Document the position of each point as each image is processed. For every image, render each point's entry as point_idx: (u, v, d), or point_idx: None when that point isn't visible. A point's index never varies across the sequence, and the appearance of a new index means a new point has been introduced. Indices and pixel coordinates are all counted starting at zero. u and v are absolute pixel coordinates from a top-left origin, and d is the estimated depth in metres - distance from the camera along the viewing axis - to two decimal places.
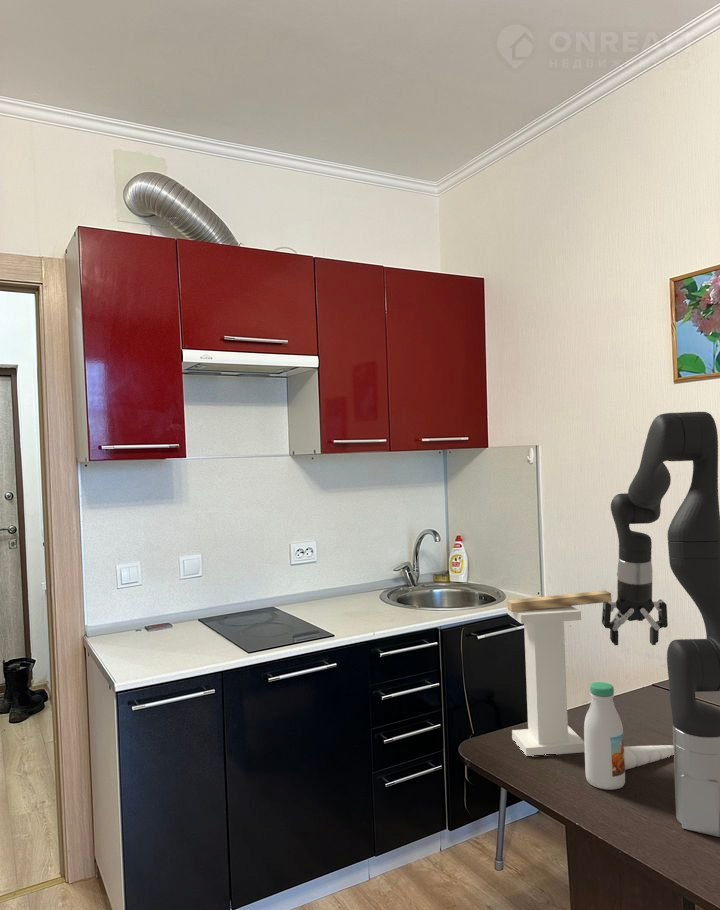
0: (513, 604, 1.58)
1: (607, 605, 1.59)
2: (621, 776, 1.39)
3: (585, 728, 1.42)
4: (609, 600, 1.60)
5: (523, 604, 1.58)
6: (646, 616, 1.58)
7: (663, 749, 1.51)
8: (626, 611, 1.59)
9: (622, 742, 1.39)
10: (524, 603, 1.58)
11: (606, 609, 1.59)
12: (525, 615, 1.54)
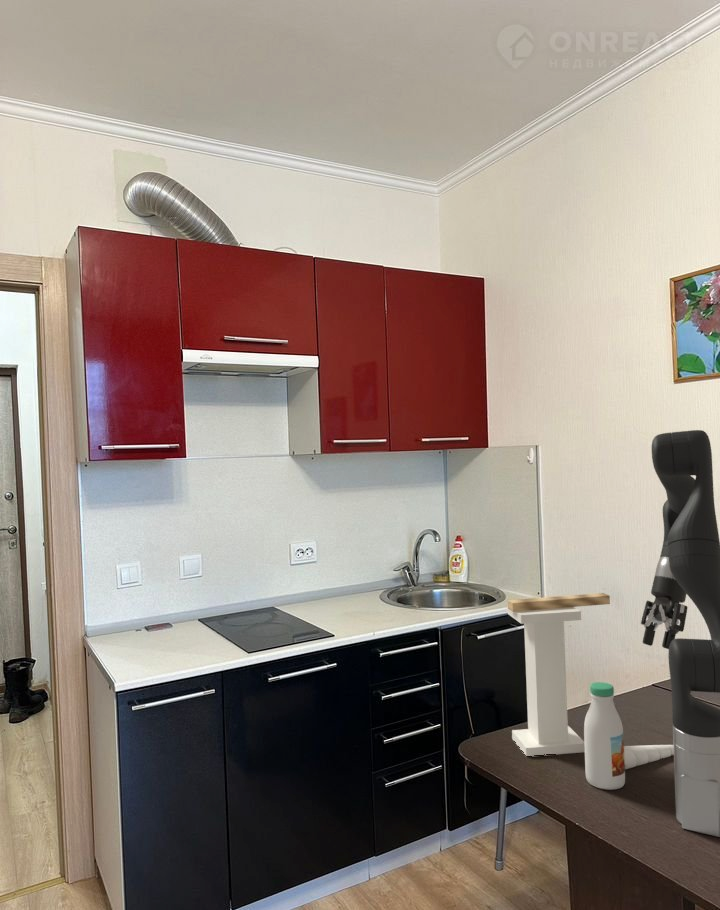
0: (514, 604, 1.58)
1: None
2: (621, 776, 1.39)
3: (585, 728, 1.42)
4: (607, 602, 1.61)
5: (524, 604, 1.58)
6: (662, 613, 1.59)
7: (663, 748, 1.51)
8: None
9: (622, 742, 1.39)
10: (525, 603, 1.58)
11: (645, 605, 1.68)
12: (525, 615, 1.54)
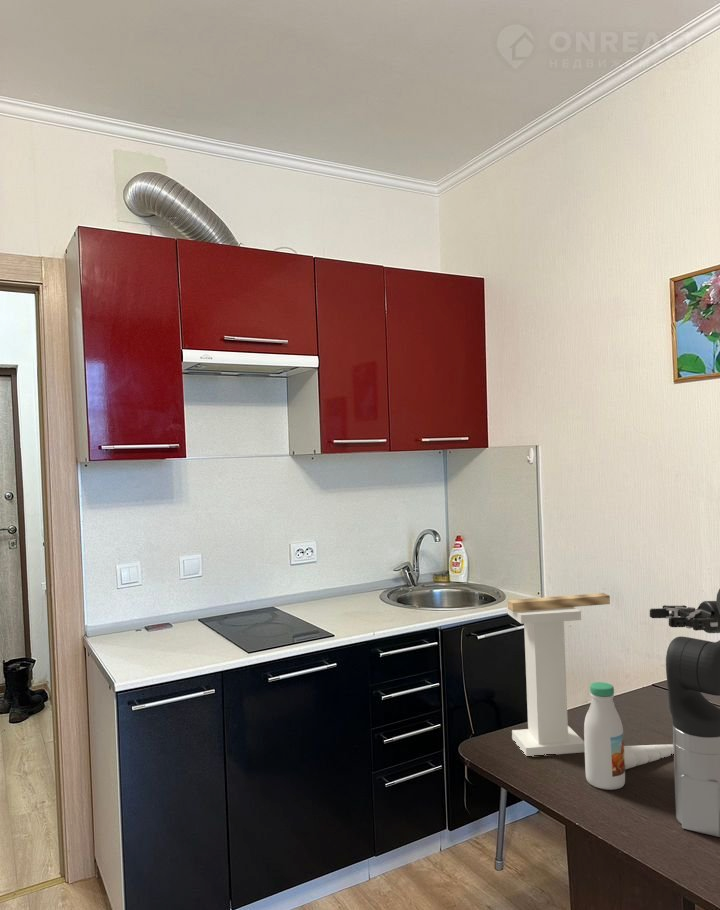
0: (514, 604, 1.58)
1: None
2: (621, 776, 1.39)
3: (585, 728, 1.42)
4: (607, 602, 1.61)
5: (524, 604, 1.58)
6: (694, 612, 1.61)
7: (663, 748, 1.51)
8: None
9: (622, 742, 1.39)
10: (525, 603, 1.58)
11: (680, 606, 1.70)
12: (525, 615, 1.54)
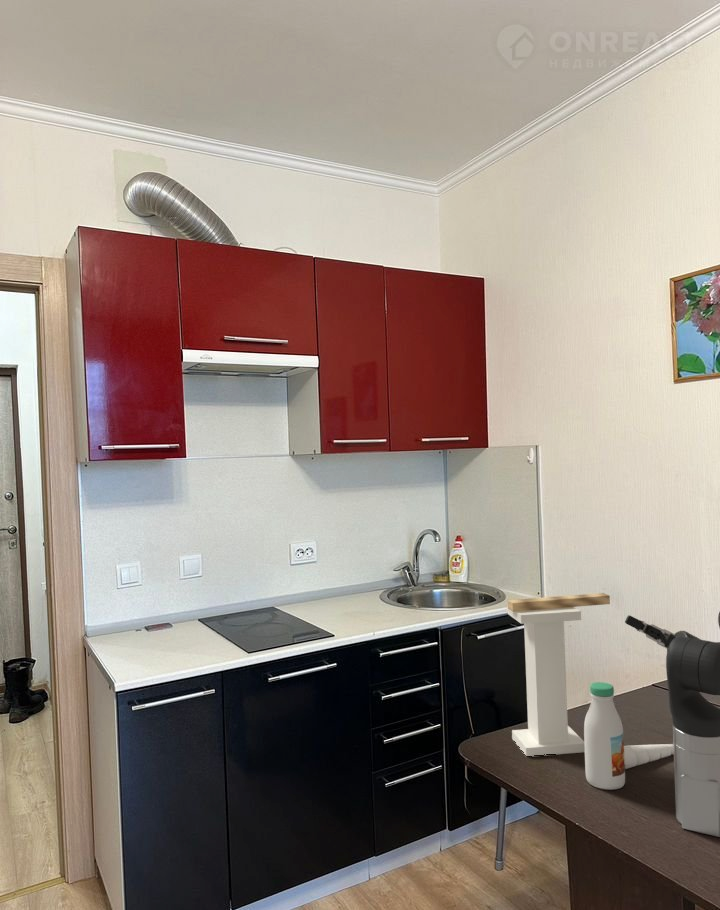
0: (514, 604, 1.58)
1: None
2: (621, 776, 1.39)
3: (585, 728, 1.42)
4: (607, 602, 1.61)
5: (524, 604, 1.58)
6: (670, 633, 1.61)
7: (663, 748, 1.51)
8: None
9: (622, 742, 1.39)
10: (525, 603, 1.58)
11: None
12: (525, 615, 1.54)
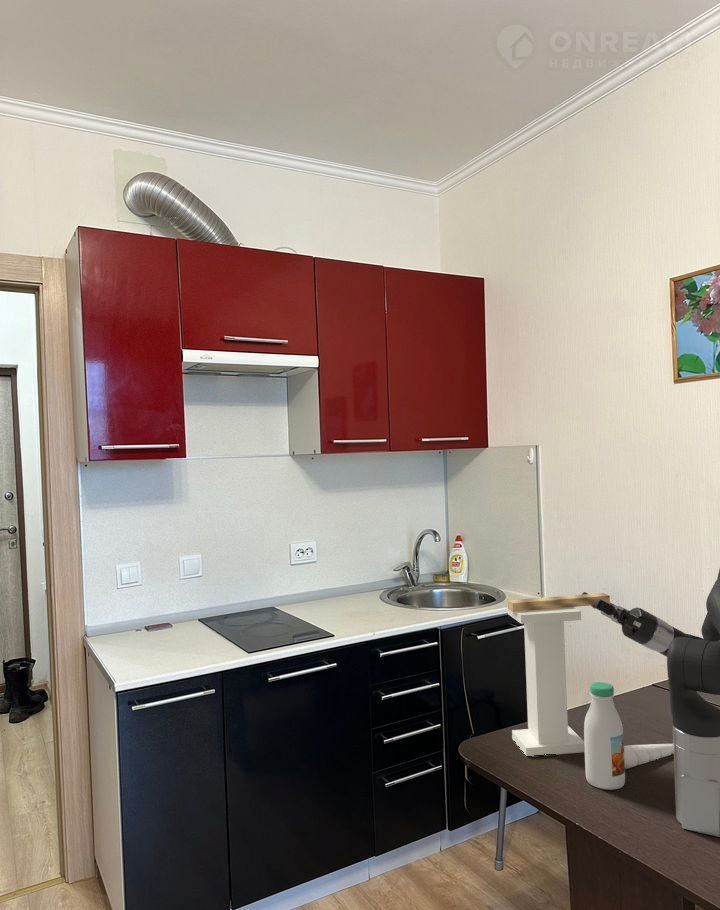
0: (514, 604, 1.58)
1: None
2: (621, 776, 1.39)
3: (585, 728, 1.42)
4: (607, 602, 1.61)
5: (524, 604, 1.58)
6: (624, 609, 1.59)
7: (663, 747, 1.52)
8: None
9: (622, 742, 1.39)
10: (525, 603, 1.58)
11: None
12: (525, 615, 1.54)
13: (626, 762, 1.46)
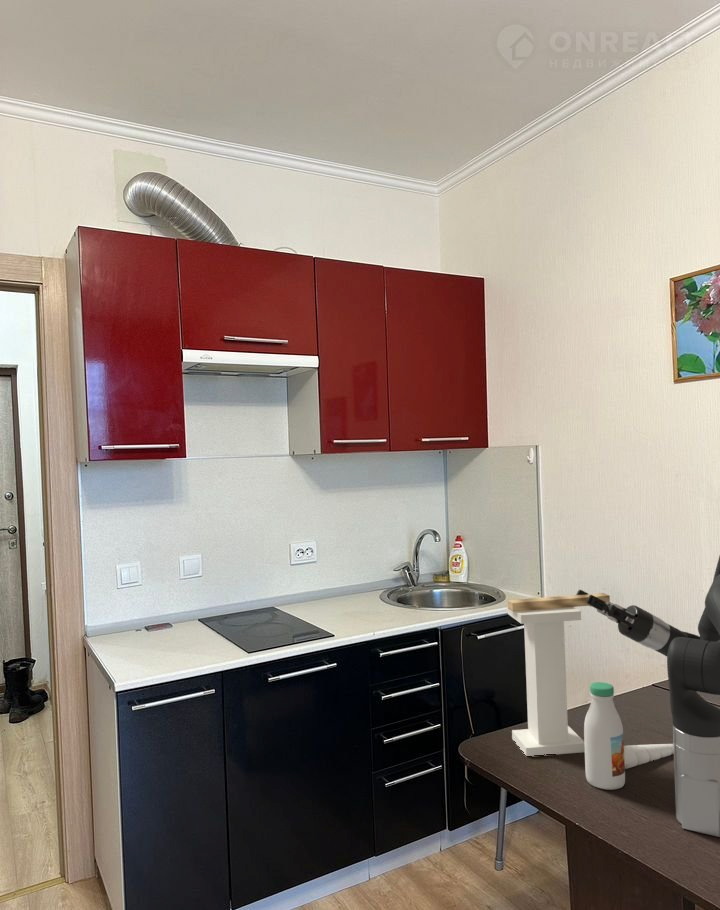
0: (514, 604, 1.58)
1: None
2: (621, 776, 1.39)
3: (585, 728, 1.42)
4: None
5: (524, 604, 1.58)
6: (618, 606, 1.60)
7: (663, 747, 1.52)
8: None
9: (622, 742, 1.39)
10: (525, 603, 1.58)
11: None
12: (525, 615, 1.54)
13: (626, 762, 1.46)
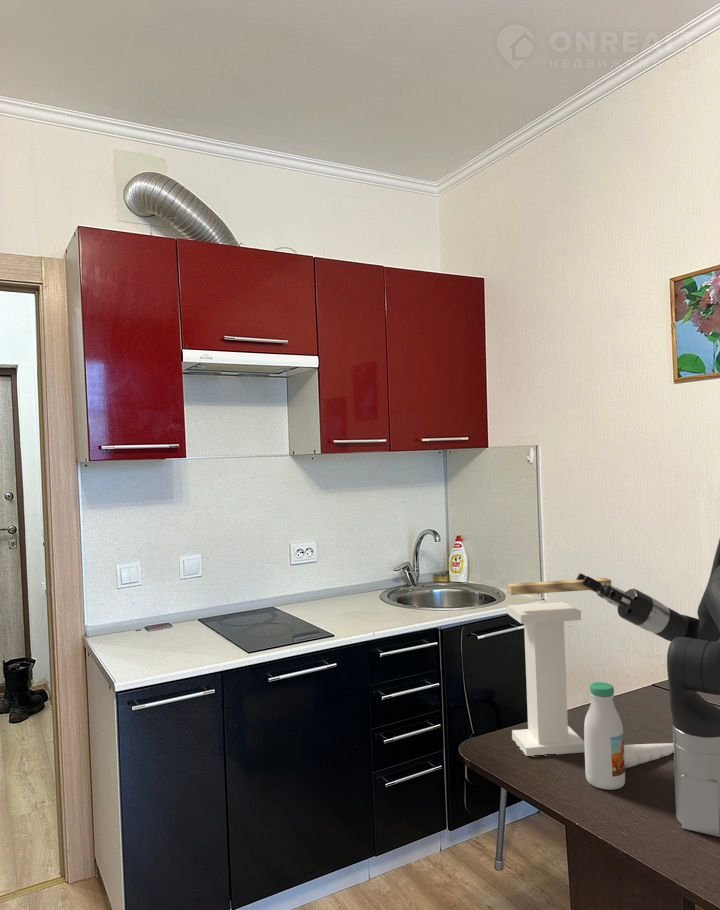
0: (513, 587, 1.58)
1: None
2: (621, 776, 1.39)
3: (585, 728, 1.42)
4: None
5: (523, 588, 1.58)
6: (617, 588, 1.60)
7: (663, 747, 1.52)
8: None
9: (622, 742, 1.39)
10: (524, 587, 1.58)
11: None
12: (525, 615, 1.54)
13: (626, 761, 1.46)
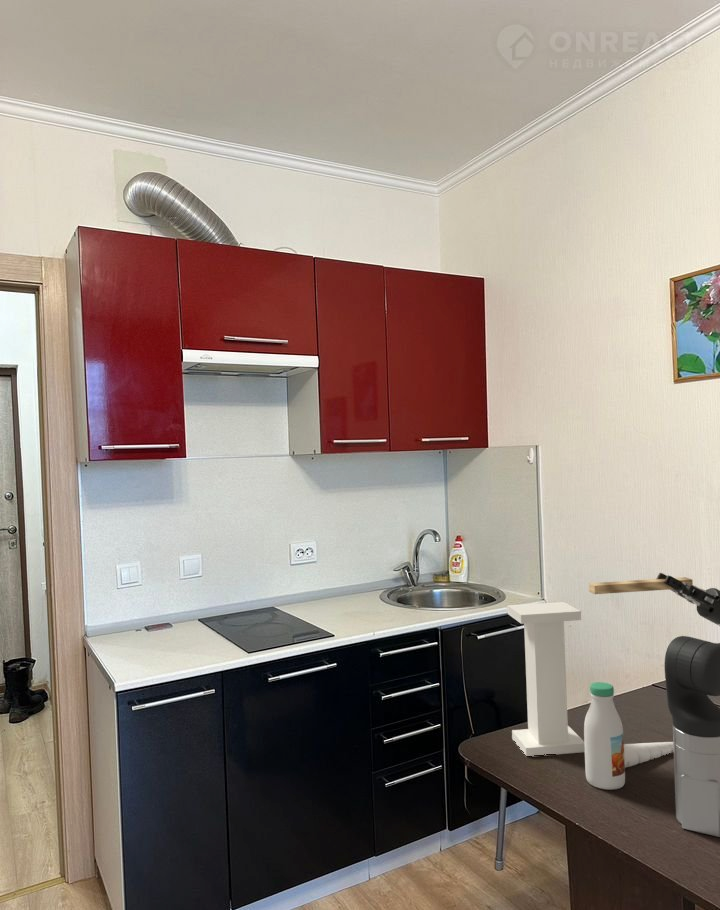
0: (596, 587, 1.60)
1: None
2: (621, 776, 1.39)
3: (585, 728, 1.42)
4: None
5: (606, 587, 1.60)
6: (698, 588, 1.62)
7: (664, 746, 1.53)
8: None
9: (622, 742, 1.39)
10: (607, 586, 1.60)
11: None
12: (525, 615, 1.54)
13: (628, 761, 1.46)
